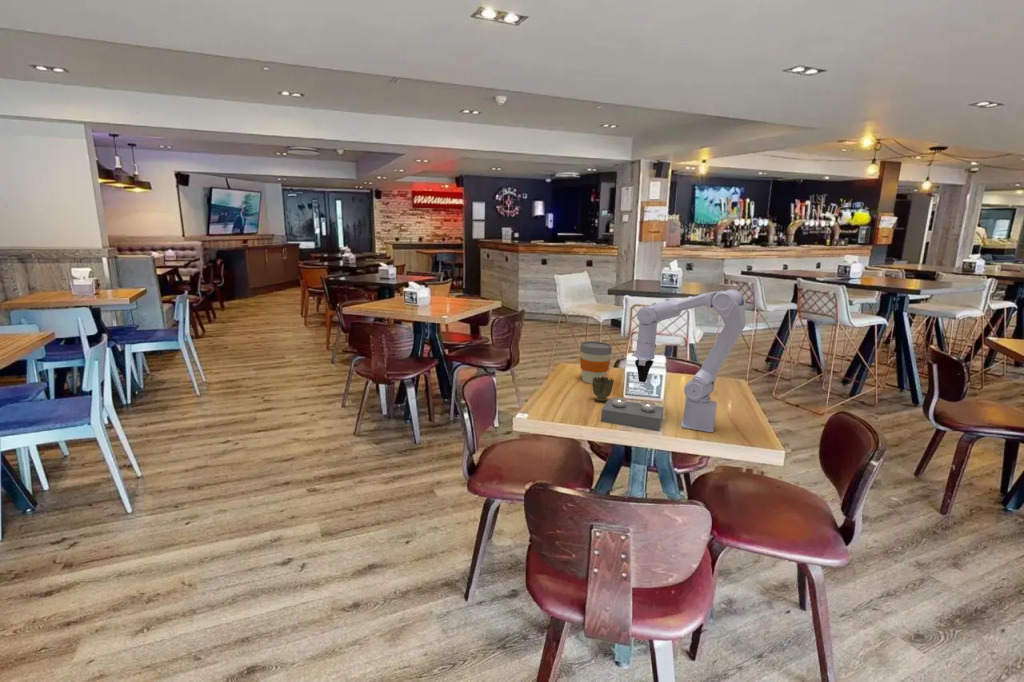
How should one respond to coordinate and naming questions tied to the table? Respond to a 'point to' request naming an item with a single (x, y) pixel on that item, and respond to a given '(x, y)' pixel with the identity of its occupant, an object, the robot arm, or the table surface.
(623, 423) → the knob mount
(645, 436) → the table surface
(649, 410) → the knob near
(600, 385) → the cup
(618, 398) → the knob outer
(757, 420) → the table surface
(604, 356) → the reusable coffee cup
